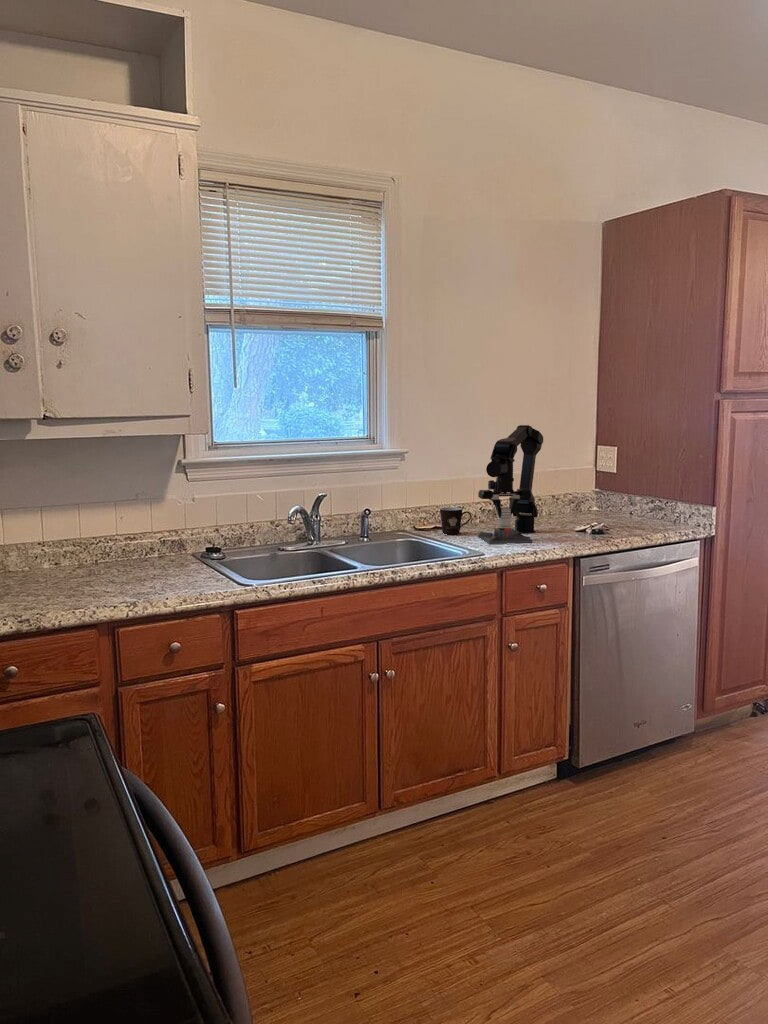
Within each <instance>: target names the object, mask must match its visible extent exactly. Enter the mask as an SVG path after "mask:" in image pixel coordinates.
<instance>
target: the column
mask: <svg viewBox="0 0 768 1024" xmlns="http://www.w3.org/2000/svg"><path fill="white" fill-rule="evenodd" d="M511 520H512V515H511V508H509V506H506V507H505V506H504V507H503V506H501V516H500V518H499V517H498V524H497V525H498V528H512V527H511V526H512V525H511V523H512V522H511Z"/></svg>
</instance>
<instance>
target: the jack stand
mask: <svg viewBox="0 0 768 1024" xmlns="http://www.w3.org/2000/svg"><path fill="white" fill-rule="evenodd" d="M493 530H494V533H493V532H486V531H479V534H477V537H478V538H479V539H480V538H481V539H480V540H482V541H483V540H484V541H483V542H485V543H486V542H487V543H486V544H488V545H508V544H507V543H515V544H532V543H533V539H531V536H525V535H524V534H523V533H518V531H515V528H514V529H513V528H512V527H502V528H501V527H496V528H493Z"/></svg>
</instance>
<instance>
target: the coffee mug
mask: <svg viewBox="0 0 768 1024" xmlns="http://www.w3.org/2000/svg"><path fill="white" fill-rule="evenodd" d="M439 512H440V513H439V514H440V520H441V521H440V522H441V530H442V534H443V533H444V534H447V535H456V536H459V535H460V534H461V528H462V527H464V525H467V524H468V523H469V522H470V520H471V519H472V518H473V517H472V513H471V512H470V511H463V508H462V507H457V506H456V507H453V506H452V507H449V506H448V507H441V508H439ZM465 514H468V515H469V518H468V520H466V521H465V522H464V523H462V517H463V515H465ZM458 534H459V535H458Z"/></svg>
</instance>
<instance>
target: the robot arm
mask: <svg viewBox="0 0 768 1024" xmlns="http://www.w3.org/2000/svg"><path fill="white" fill-rule="evenodd" d="M543 443H544V436H543V434H542V433H541V431H540V430H537V429H536V428H533V426H532V425H529V424H520V425H517V427H516V429H514V430H513V431H512V432H511V433H510V435H508V436H507V437H506V438H500V439H499V440H497V441H496V442H495V444H494V446H493V448H492V451H491V455H490V457H489V458H490V460H491V461H490V462H489V463H487V465H486V468H485V470H486V473H487V475H488V476H490V477H491V478H496V479H495V480H496V481H495V480H492V479H491V480H488V481H487V483H488V484H487V486H488V487H487V489H479V491H478V492H477V493H478V494H477V495H478V498H479V499H481V500H489V501H491V502H492V503H493V505H494V507H495V511H496V514H497V517H498V519H499V518H500V516H501V507H502V503H501V501H502V500H501V499H500V497H508V501H509V504H508V507H509V508H511V516H512V517H516V518H515V520H514V530H515V531H518V533H520V534H535V533H536V531H535V518H538V515H539V510H538V507H537V505H536V502H535V501H536V500H535V499H536V498H535V497H534V494H533V492H532V491H533V482H534V473H535V465H536V459H537V458H536V457H537V454H539V452H540V451H541V450H542V445H543ZM519 445H520V446H519ZM518 447H520V448H521V451H522V453H523V455H522V456H523V457H522V465H521V472H520V480H519V488H517V489H516V490H514V481H515V478H514V462H516V461H515V456H516V454H517V452H518Z"/></svg>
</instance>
